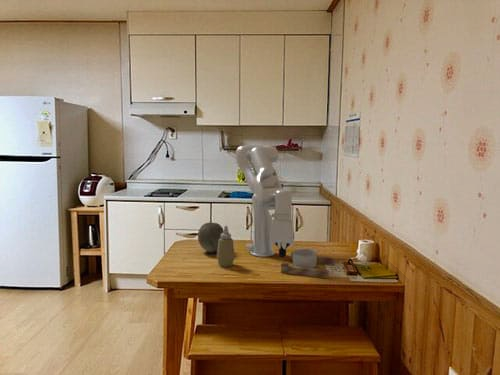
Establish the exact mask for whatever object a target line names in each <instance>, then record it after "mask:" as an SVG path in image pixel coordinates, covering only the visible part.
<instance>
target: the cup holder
mask: <svg viewBox="0 0 500 375" xmlns="http://www.w3.org/2000/svg"><path fill="white" fill-rule="evenodd" d="M293 251H294V250H292V251H291V254H290V261H293V254H292V252H293ZM316 264H320V265H329V266H335V257H331V256H321V255H317V263H316ZM280 273H281V274H289V275H297V276H305V277H312V278H318V279H319V278H320V279H329V276H330V275H329V274H330V270H328V269H323V268H322V269H321V268H315V267H314V268H307V267H299V266H294V265H289V264H288V262H282V263H281V264H280Z"/></svg>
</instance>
